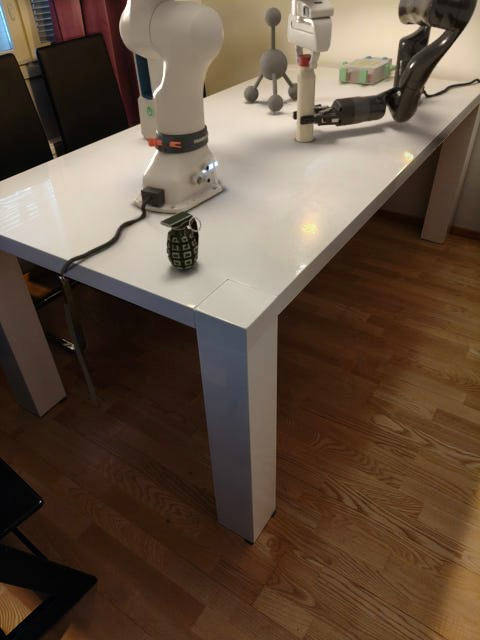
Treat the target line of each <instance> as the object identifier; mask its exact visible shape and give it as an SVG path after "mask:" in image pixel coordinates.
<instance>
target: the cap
mask: <svg viewBox="0 0 480 640" xmlns="http://www.w3.org/2000/svg"><path fill="white" fill-rule="evenodd" d="M310 60H311V53H303V54H302V55H299V63H298V66H299V67H300V68H301V67H309V61H310Z"/></svg>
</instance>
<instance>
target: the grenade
mask: <svg viewBox="0 0 480 640" xmlns="http://www.w3.org/2000/svg"><path fill="white" fill-rule="evenodd" d="M198 222H199V226H198ZM159 224H160V225H162V226H164V227H166V228H169V230H168V231H167V236H166V254H167V259H168V261H169V263H170V265H171V266H172V267H174V268H176V269H178V270H181V271H186V270H189V269H192V267H194V266H195V265H196V264H197V262H198V261H197V260H198V259H199V243H200V241H199V240H200V233H199V232H200V231H201V228H202V221H201V220H200V219H199V218H198V217H197V216H194V215H193V214H192V213H189V212H187V211H185V212H184V211H181V212H179V213H174V214H172V215H170V216H169V217H166V218H165V219H162V220H160V222H159ZM198 227H199V228H198Z"/></svg>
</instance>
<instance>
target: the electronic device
mask: <svg viewBox="0 0 480 640" xmlns="http://www.w3.org/2000/svg"><path fill="white" fill-rule="evenodd" d="M132 54H133V60H134V61H133V62H134V65H135V72H136V79H137V86H138V90H139V97H138V98H137V103H138V113H139V123H140V129H141V130H140V131H141V135H142V136H143V138H144V139H146V140H148V139H149V138H150V137H152V138H156V130H157V129H158V128H157V121H156V114H155V108H154V101H153V94H154V91H155V89H156V88H157V87H158V86H159V85H160V84H161V83H162V80H163V75H164V62H163V61H161V60H153V59H147V58H144V57H142V56H140V55H138V54H136V53H134V52H132Z"/></svg>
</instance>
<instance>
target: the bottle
mask: <svg viewBox="0 0 480 640" xmlns="http://www.w3.org/2000/svg"><path fill="white" fill-rule="evenodd" d="M316 79H317V76H316V72H315V69H311V68H309V67H301V66H300V69H299V72H298V74H297V83H298V87H297V99H296V111H297V120H296V132H295V133H296V136H295V137H296V139H295V140H296V141H297V142H300V143H309V142H312V141H313V140H314V125H315V124H305V125H301V124H300V117H301V116H308V115H314V105H316V104H315V102H316V101H315V100H316Z"/></svg>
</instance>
